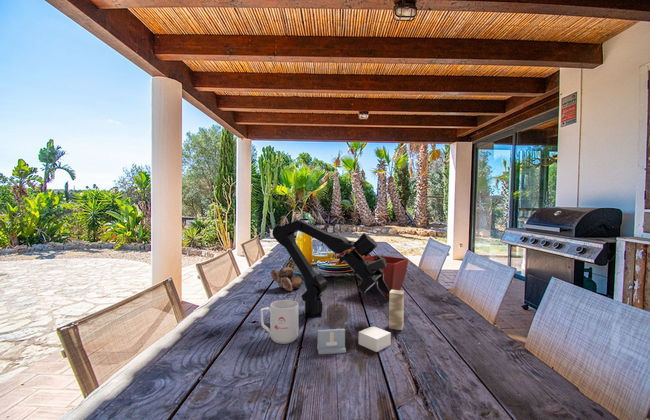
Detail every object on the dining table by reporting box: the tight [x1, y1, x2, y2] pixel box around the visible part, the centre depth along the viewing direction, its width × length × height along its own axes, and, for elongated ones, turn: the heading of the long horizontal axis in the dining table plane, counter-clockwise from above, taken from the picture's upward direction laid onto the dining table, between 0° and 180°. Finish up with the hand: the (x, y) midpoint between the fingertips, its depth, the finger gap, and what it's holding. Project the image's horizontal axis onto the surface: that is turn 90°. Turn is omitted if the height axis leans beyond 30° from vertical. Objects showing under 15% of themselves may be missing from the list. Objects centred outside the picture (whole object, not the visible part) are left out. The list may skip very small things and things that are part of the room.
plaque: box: [316, 328, 347, 355], centre depth 89 cm, size 8×4×6 cm, turn 99°
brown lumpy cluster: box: [270, 266, 304, 292], centre depth 154 cm, size 13×16×15 cm
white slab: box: [358, 325, 392, 353], centre depth 93 cm, size 7×7×4 cm
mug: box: [260, 299, 300, 345], centre depth 96 cm, size 12×9×11 cm
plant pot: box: [362, 254, 409, 298], centre depth 148 cm, size 19×19×17 cm
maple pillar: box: [388, 289, 405, 331], centre depth 106 cm, size 4×4×12 cm
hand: (388, 297), depth 107 cm, fingers open, 9 cm apart
